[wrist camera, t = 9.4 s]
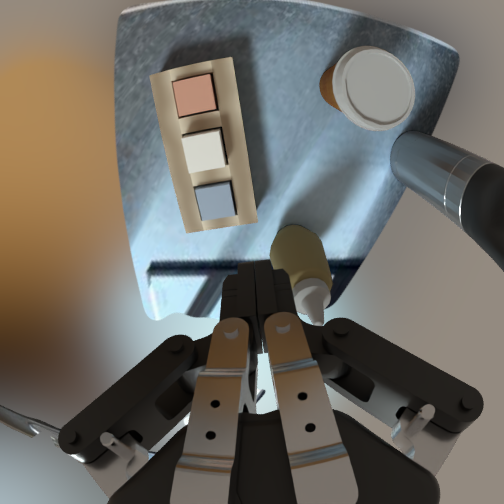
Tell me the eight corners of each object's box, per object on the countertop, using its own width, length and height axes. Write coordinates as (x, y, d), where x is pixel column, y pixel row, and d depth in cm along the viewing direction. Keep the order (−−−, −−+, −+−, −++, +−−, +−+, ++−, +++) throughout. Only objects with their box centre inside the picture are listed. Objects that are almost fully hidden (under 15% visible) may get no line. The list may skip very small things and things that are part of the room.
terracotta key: (212, 76, 30) (209, 74, 27) (217, 107, 32) (215, 109, 29) (178, 83, 30) (172, 82, 27) (184, 114, 32) (179, 116, 29)
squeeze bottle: (305, 266, 47) (332, 349, 32) (260, 255, 46) (270, 341, 30) (325, 225, 43) (367, 302, 28) (277, 211, 42) (300, 288, 26)
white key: (220, 127, 32) (218, 131, 30) (226, 160, 35) (225, 167, 32) (186, 134, 33) (181, 138, 30) (193, 166, 35) (189, 173, 32)
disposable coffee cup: (367, 56, 29) (413, 48, 19) (374, 118, 34) (420, 132, 24) (302, 57, 30) (329, 42, 20) (312, 122, 35) (342, 135, 25)
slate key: (230, 176, 37) (229, 184, 34) (235, 205, 40) (235, 215, 37) (198, 181, 37) (195, 190, 34) (205, 210, 40) (202, 221, 37)
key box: (232, 60, 30) (232, 56, 26) (256, 210, 42) (257, 222, 38) (158, 76, 30) (149, 75, 27) (190, 220, 42) (186, 233, 39)
